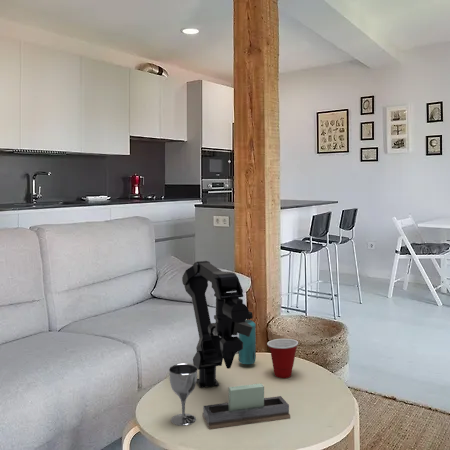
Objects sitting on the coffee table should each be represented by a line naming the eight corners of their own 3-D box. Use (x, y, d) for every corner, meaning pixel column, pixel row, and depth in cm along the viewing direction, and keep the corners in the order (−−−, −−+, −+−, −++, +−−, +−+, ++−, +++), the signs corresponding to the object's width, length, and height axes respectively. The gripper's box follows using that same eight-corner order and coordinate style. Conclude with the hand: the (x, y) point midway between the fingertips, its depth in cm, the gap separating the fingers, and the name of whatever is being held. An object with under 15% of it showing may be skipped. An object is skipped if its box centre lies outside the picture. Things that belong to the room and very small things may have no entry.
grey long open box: (202, 415, 146) (202, 404, 146) (279, 405, 153) (279, 394, 153) (209, 429, 139) (209, 417, 138) (290, 418, 145) (290, 406, 145)
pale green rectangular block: (228, 413, 146) (228, 387, 145) (261, 409, 148) (261, 383, 148) (230, 417, 143) (231, 390, 143) (263, 413, 146) (264, 386, 145)
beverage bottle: (254, 369, 182) (255, 315, 180) (236, 367, 183) (236, 313, 181) (257, 362, 188) (257, 310, 186) (239, 361, 190) (239, 309, 188)
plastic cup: (276, 366, 184) (276, 334, 183) (303, 373, 178) (303, 340, 177) (260, 376, 176) (261, 342, 174) (288, 383, 169) (288, 349, 168)
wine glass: (186, 429, 139) (186, 376, 137) (163, 421, 143) (163, 370, 142) (202, 417, 146) (202, 367, 144) (180, 410, 150) (180, 361, 148)
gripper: (260, 320, 148) (259, 371, 150) (240, 304, 166) (239, 349, 167) (223, 323, 145) (223, 375, 146) (207, 306, 162) (207, 352, 164)
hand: (224, 362), depth 156 cm, fingers open, 9 cm apart
